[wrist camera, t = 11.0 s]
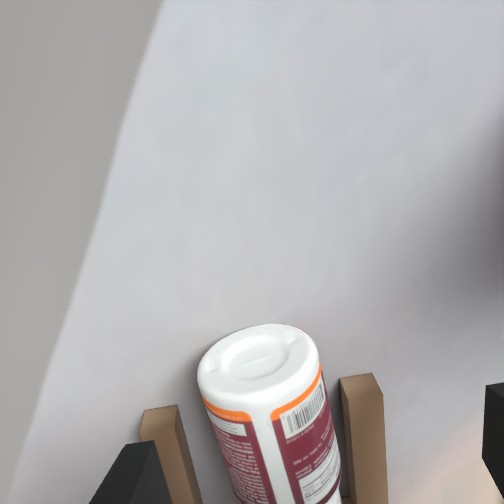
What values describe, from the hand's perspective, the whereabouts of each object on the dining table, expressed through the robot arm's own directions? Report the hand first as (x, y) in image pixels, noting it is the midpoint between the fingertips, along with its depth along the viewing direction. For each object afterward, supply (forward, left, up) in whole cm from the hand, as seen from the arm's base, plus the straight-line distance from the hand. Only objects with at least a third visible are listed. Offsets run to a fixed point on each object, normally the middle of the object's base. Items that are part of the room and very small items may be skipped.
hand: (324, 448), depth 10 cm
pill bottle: (+1, +2, -7) cm, 7 cm away
